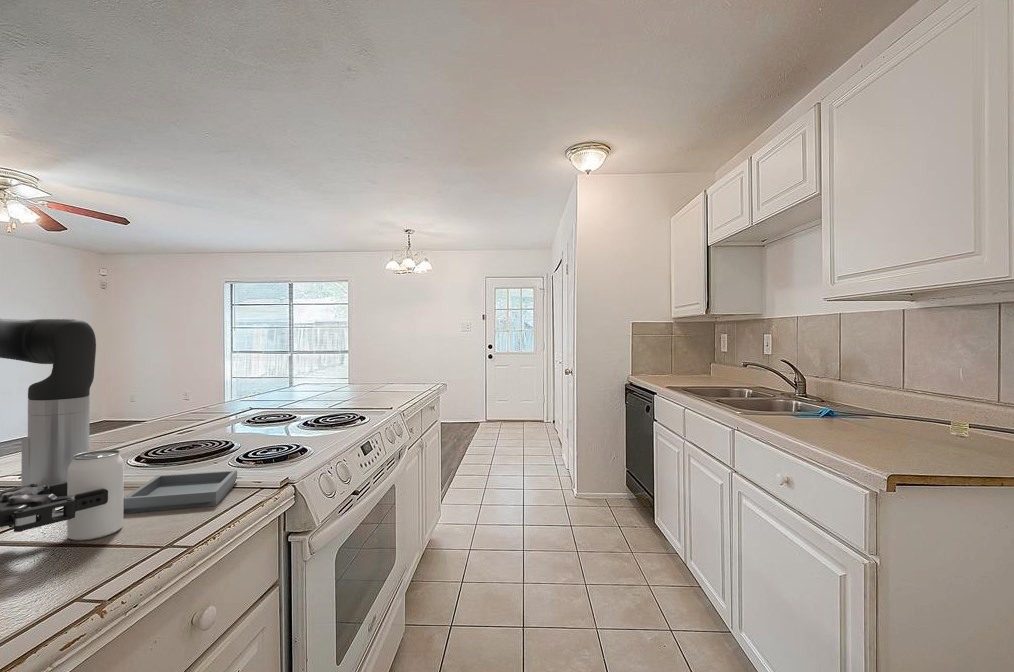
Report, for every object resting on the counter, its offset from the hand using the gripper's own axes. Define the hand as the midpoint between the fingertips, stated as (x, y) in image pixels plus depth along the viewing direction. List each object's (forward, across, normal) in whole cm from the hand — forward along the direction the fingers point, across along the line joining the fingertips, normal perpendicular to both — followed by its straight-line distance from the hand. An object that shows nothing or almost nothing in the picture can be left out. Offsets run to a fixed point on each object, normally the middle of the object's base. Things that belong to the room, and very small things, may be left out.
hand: (93, 490), depth 72 cm
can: (0, 0, +7) cm, 7 cm away
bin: (+16, +6, +6) cm, 18 cm away
